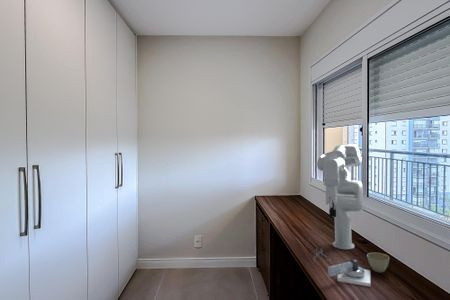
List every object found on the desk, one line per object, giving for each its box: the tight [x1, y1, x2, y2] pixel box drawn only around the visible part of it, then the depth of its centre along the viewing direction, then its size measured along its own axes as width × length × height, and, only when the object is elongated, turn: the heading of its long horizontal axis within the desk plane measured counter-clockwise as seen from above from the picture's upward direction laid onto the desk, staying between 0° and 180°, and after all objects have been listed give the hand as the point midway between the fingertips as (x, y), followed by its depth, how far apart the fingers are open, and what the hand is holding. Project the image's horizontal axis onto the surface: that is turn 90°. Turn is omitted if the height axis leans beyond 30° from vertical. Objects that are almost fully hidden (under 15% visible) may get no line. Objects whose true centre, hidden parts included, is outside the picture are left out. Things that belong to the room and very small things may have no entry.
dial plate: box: [336, 268, 371, 287], centre depth 138 cm, size 14×14×2 cm
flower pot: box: [366, 252, 390, 273], centre depth 144 cm, size 10×10×7 cm
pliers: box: [312, 247, 332, 263], centre depth 165 cm, size 10×1×20 cm
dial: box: [327, 258, 365, 278], centre depth 137 cm, size 20×9×6 cm, turn 110°
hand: (332, 216), depth 151 cm, fingers closed
